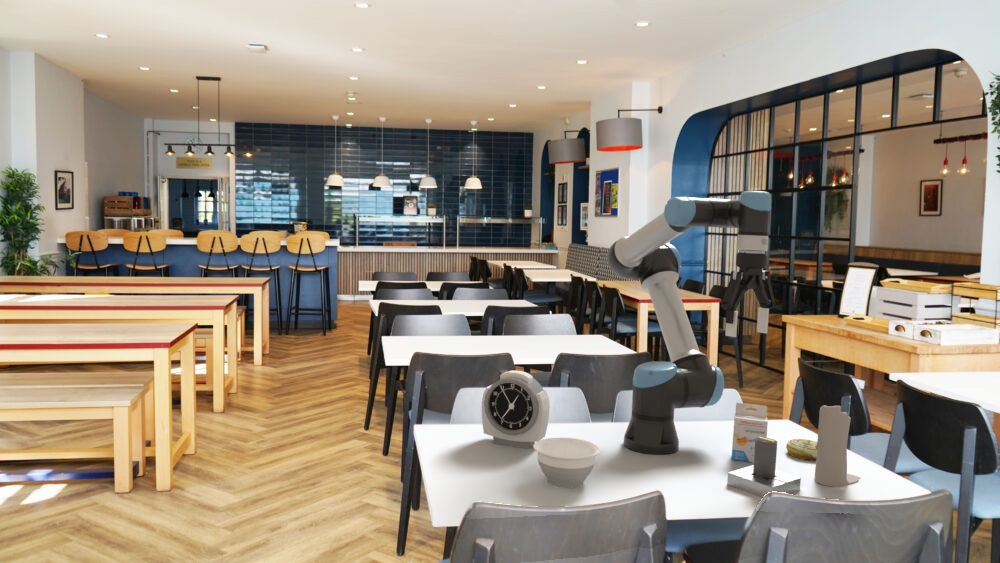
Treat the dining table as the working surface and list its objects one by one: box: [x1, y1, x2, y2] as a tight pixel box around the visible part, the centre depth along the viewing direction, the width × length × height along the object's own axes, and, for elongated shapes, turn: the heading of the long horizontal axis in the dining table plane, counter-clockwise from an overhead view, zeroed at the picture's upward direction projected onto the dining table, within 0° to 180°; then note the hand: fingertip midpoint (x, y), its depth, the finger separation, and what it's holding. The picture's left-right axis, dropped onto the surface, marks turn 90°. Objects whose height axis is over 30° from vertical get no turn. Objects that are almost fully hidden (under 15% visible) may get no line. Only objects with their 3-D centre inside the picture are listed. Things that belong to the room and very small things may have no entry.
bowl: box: [532, 437, 601, 489], centre depth 182 cm, size 16×16×8 cm
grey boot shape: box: [814, 405, 861, 488], centre depth 191 cm, size 7×14×20 cm, turn 123°
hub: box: [726, 464, 802, 498], centre depth 184 cm, size 12×12×3 cm
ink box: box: [731, 402, 769, 464], centre depth 205 cm, size 8×5×15 cm, turn 73°
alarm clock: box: [481, 370, 550, 450], centre depth 211 cm, size 18×8×20 cm, turn 68°
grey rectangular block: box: [753, 437, 778, 480], centre depth 184 cm, size 5×5×11 cm
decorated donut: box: [785, 438, 817, 461], centre depth 211 cm, size 10×11×4 cm
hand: (746, 334), depth 197 cm, fingers open, 13 cm apart
